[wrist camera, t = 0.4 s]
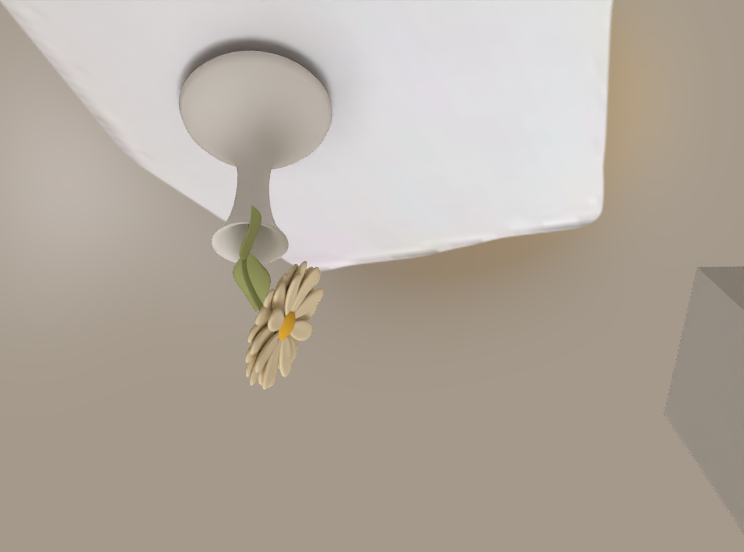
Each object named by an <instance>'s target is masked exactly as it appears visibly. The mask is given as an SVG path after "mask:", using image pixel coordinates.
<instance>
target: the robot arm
mask: <svg viewBox="0 0 744 552" xmlns="http://www.w3.org/2000/svg"><path fill="white" fill-rule="evenodd" d="M664 415H665V417H666V418H667V420H668V421H669V422H670V424H671V426H672V427H673V429H674V430H675V432H676V433H677V435H678V436H679V437H680V439H681V440H682V442H683V444H684V445H685V446H686V448H687V449H688V451H689V453H690V454H691V456H692V457H693V459H694V460H695V461H696V463H697V465H698V466H699V468H700V469H701V471H702V472H703V474H704V475H705V476H706V478H707V480H708V481H709V483H710V484H711V485H712V487H713V489H714V490H715V492H716V493H717V495H718V496H719V498H720V499H721V501H722V502H723V504H724V505H725V507H726V508H727V510H728V511H729V513H730V514H731V516H732V517H733V518H734V520H735V522H736V523H737V524H738V526H739V528H740V529H741V530H742V532H743V534H744V267H697V270H696V274H695V279H694V283H693V288H692V292H691V296H690V301H689V305H688V310H687V314H686V318H685V323H684V327H683V332H682V336H681V340H680V345H679V349H678V354H677V359H676V363H675V368H674V372H673V376H672V380H671V385H670V389H669V393H668V398H667V403H666V407H665V411H664Z"/></svg>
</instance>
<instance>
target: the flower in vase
mask: <svg viewBox="0 0 744 552" xmlns="http://www.w3.org/2000/svg"><path fill="white" fill-rule="evenodd" d="M179 110H180V114H181V117H182V120H183V122H184V125H185V127H186V129H187V131H188V133H189V134H190V136H191V138H192V139H193V140H194V141H195V142H196V143H197V144H198V145H199V146H200V147H201V148H202V149H204V150H205V151H206V152H208V153H209V154H211V155H212V156H214V157H215V158H217V159H219V160H220V161H222V162H225V163H227V164H229V165H232V166H235V167H237V172H238V176H237V190H236V197H235V201H234V205H233V208H232V211H231V214H230V216H229V218H228V220H227V221H226V222H225V224H224V225H222V226H221V227H220V228H219V229H218V230H217V231H216V232H215V233H214V235H213V237H212V246H213V248H214V250H215V251H216V252H217V253H218V254H219V255H220V256H221V257H223V258H225V259H227V260H229V261H232V262H235V263H236V265H235V267H234V270H233V277H234V279H235V281H236V283H237V284H238V286H239V287H240V289H241V290H242V292H243V293H244V294H245V296H246V297H247V299H248V301H249V302H250V304H251V305H252V307H253V308H254V310H255V311H257V310H259V313H258V315H257V317H256V319H255V324H254V326H253V327H252V329H251V331H250V333H249V336H248V343H251V345H250V347H249V349H248V351H247V354H246V363H248V364H247V367H246V376H247V377H249V376H250V385H251V386H252V385H253V384H254V383H255V382H256V381H257V379H258V382H259V384H260V385H262V386H263V389H267V388H268V387H271V386H272V385H273V384H274V382H275V380H276V376H277V370H278V368H279V369H280V372H281V374H282V376H284V377H286V376H287V375H288V374H289V372H290V370H291V367H292V361H293V360H294V359H295V357H296V354H297V346H298V340H306V339H307V338H309V336H310V335H311V333H312V330H313V326H312V324H311V323H310V322H309V321H308V320H309V319H310V317H311V316H312V315H313V314H314V313H315V311H316V309H317V304H318V303H319V302H320V300H321V299H322V297H323V294H324V290H323V288H319V289H317V290H315V291H314V290H312V289H313V288H314V287H315V286H316V284H317V283H318V281H319V279H320V276H321V272H320V271H319V268H318V267H315V268H314V269H313V267H309V268H308V269H306V267H307V262H306V261H304V262H303V263H302V264H300V266H299V267H298V265H297V264H295V265H294V266H293V267H292V268H291V269H290V270H289V272H288V274H286V273H285V274H284V275H283V276H282V277H281V278H280V280H279V282H278V284H277V286H276V289H275V290H274V289H270V290H269V287H270V282H271V281H270V275H269V273H268V271H267V270H266V269H265V268H264V267H263V265H262V264H266V263H269V262H273V261H275V260H277V259H279V258H280V257H282V256H283V255H284V254H285V253H286V251H287V249H288V240H287V238H286V236H285V234H284V233H283V232H282V231H281V230H280V229H279V228H278V227H277V225H276V224H275V221H274V219H273V216H272V212H271V207H270V198H269V180H270V173H271V169H277V168H282V167H285V166H288V165H291V164H293V163H295V162H297V161H299V160H301V159H303V158H305V157H306V156H308V155H309V154H311V153H312V152H313V151H314V150H315V149H316V148H317V147H318V146H319V145H320V144H321V142H322V141H323V139H324V137H325V136H326V134H327V132H328V130H329V127H330V124H331V120H332V106H331V101H330V98H329V96H328V93H327V92H326V90H325V88H324V87H323V85H322V84H321V83H320V81H319V80H318V79H317V78H316V77H315V76H314V75H313V74H311V73H310V72H309V71H308V70H306V69H305V68H304V67H302V66H301V65H299V64H298V63H296V62H294V61H292V60H290V59H288V58H285V57H283V56H280V55H277V54H273V53H268V52H261V51H238V52H232V53H227V54H224V55H221V56H218V57H216V58H214V59H212V60H209V61H208V62H206V63H204V64H202V65H201V66H200V67H198V68H197V69H196V70H195V71H193V72H192V73H191V74H190V76H189V77H188V78H187V79H186V81H185V83H184V85H183V87H182V89H181V92H180V96H179ZM268 291H269V292H268ZM263 301H264V303H263ZM262 303H263V304H262Z"/></svg>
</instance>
